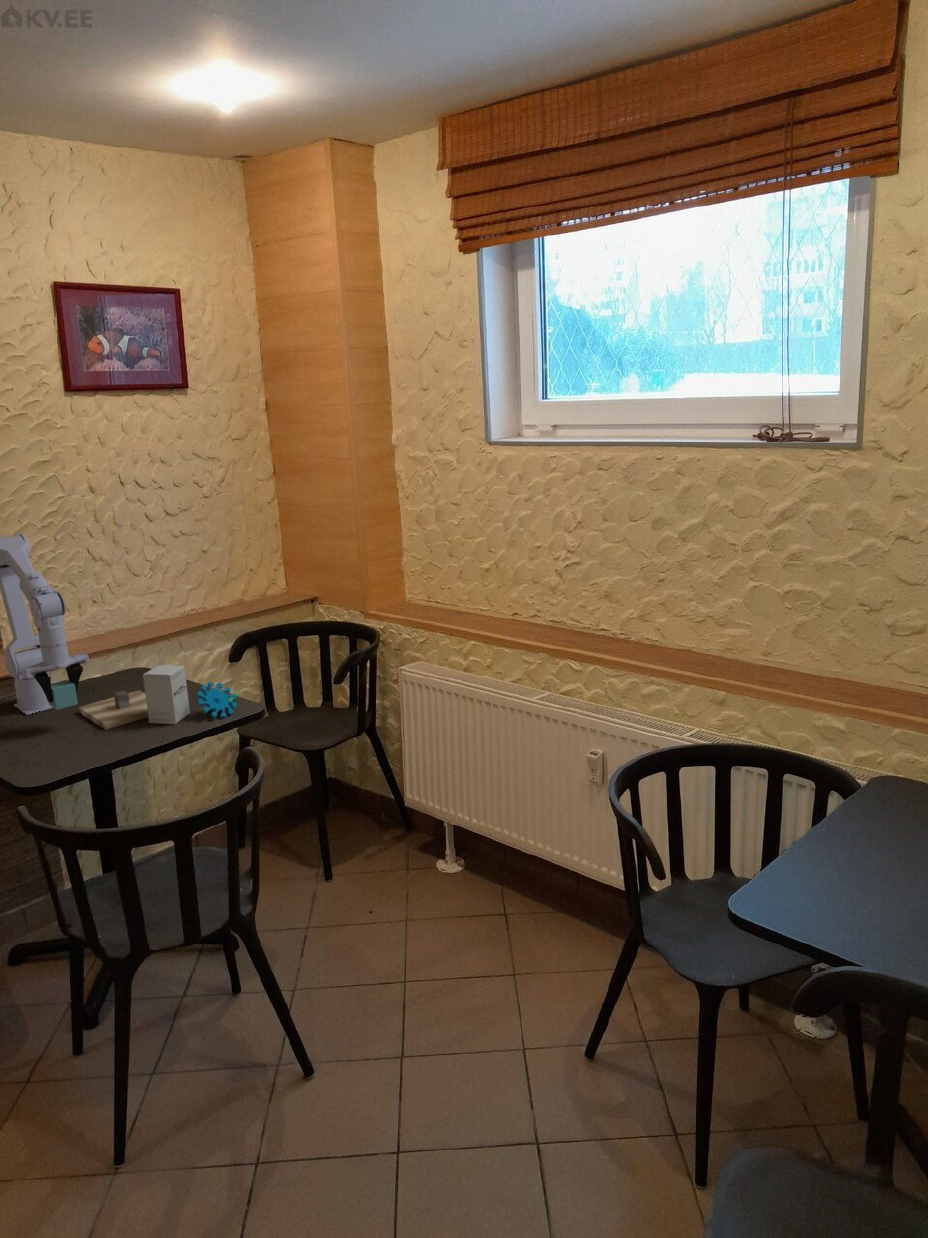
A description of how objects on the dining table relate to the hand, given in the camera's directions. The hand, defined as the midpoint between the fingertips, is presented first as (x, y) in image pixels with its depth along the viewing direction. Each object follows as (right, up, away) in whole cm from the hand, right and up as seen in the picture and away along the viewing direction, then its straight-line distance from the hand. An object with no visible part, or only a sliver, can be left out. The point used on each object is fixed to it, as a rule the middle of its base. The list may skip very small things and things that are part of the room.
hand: (62, 698), depth 223 cm
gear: (+36, -5, +8) cm, 37 cm away
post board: (+11, -4, +11) cm, 16 cm away
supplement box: (+24, -6, +6) cm, 25 cm away
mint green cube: (0, -1, 0) cm, 2 cm away
